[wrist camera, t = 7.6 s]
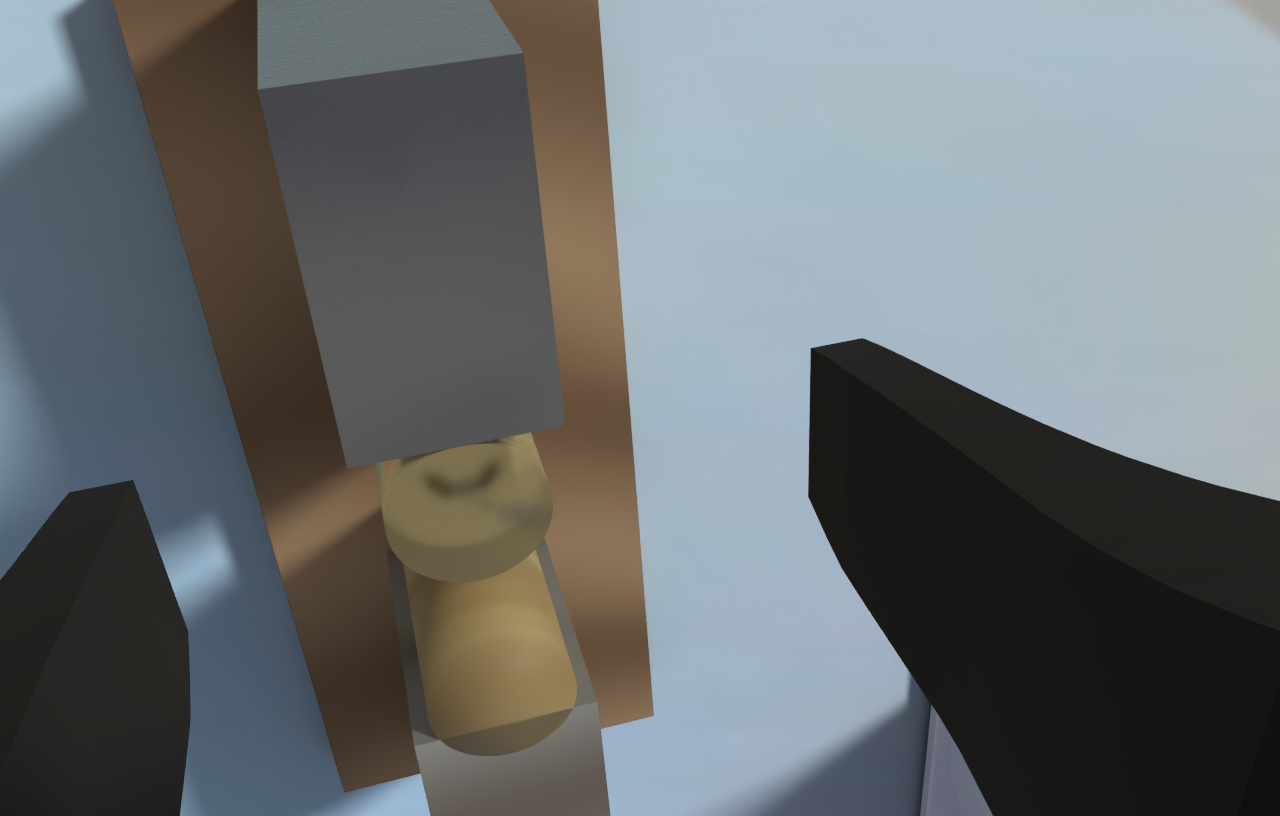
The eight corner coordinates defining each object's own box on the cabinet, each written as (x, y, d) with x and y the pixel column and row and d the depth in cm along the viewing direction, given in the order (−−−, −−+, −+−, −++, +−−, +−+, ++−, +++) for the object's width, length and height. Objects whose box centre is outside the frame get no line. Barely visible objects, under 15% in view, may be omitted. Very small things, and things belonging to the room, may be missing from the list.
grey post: (520, 390, 22) (580, 558, 18) (356, 421, 22) (378, 602, 18) (463, -40, 18) (523, 52, 14) (257, -15, 17) (257, 89, 13)
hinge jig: (642, 684, 28) (722, 901, 24) (341, 757, 27) (360, 1002, 22) (578, -78, 19) (689, 17, 14) (117, -22, 18) (65, 103, 13)
